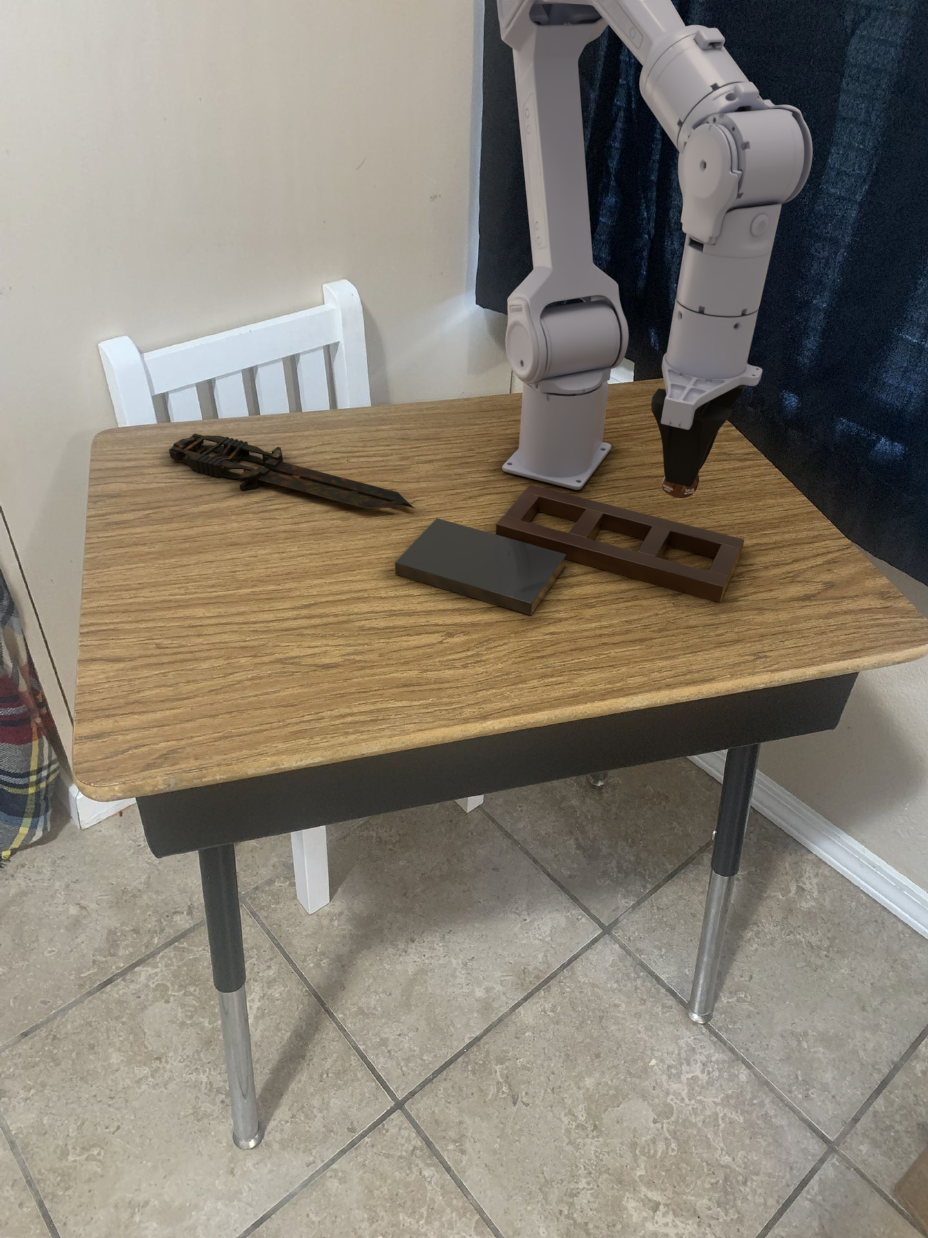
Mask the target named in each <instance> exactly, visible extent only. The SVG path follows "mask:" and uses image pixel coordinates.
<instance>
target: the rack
mask: <svg viewBox="0 0 928 1238" xmlns="http://www.w3.org/2000/svg"><path fill="white" fill-rule="evenodd" d="M538 512H540V513H543V514H547V515H551V516H555V517H559V518H562V519H567V520H570V521H574V522H575V524H574V525H573V526H572V528H571V529H570V531H568V532H567V531H564V530H563V531H562V530H558V529H555V528H553V527H552V528H551V527H547V526H544V525H540V524H537V523H533V522H531V521H532V520H533V519H534V517H535V516H536V514H537V513H538ZM601 529H603V530H607V531H610V532H615V533H620V534H622V535H626V536H630V537H633V538H638V539H642V540H643V541H642V543H641V544H640V546H639V548H638V550H637V551H636V550H632V549H628V548H625V547H621V546H618V545H614V544H610V543H608V542H607V543H606V542H603V541H599V540H595V538H596V537H597V535H598V534H599V532H600V531H601ZM495 534H496V535H499V536H503V537H506V538H510V539H514V540H517V541H521V542H524V543H528V544H531V545H535V546H539V547H542V548H546V549H549V550H553V551H556V552H560V553H564V554H566V561H571V562H575V563H577V564H582V565H585V566H589V567H592V568H595V569H599V570H602V571H606V572H609V573H613V574H616V575H620V576H625V577H627V578H631V579H634V580H639V581H642V582H645V583H649V584H653V585H656V586H660V587H663V588H667V589H670V590H674V591H678V592H681V593H685V594H688V595H691V596H696V597H698V598H702V599H705V600H708V601H709V600H710V601H713V602H717V603H721V601H722V598H723V596H724V594H725V592H726V590H727V587H728V586H729V583H730V580H731V579H732V576H733V574H734V572H735V569H736V567H737V565H738V562H739V560H740V558H741V556H742V552H743V548H744V544H745V539H744V538H739V537H735V536H732V535H728V534H725V533H720V532H717V531H713V530H709V529H705V528H701V527H698V526H693V525H689V524H685V523H681V522H678V521H674V520H670V519H666V518H663V517H658V516H654V515H651V514H647V513H643V512H639V511H635V510H632V509H627V508H623V507H619V506H616V505H612V504H608V503H604V502H601V501H596V500H593V499H589V498H586V497H581V496H577V495H574V494H569V493H565V492H562V491H558V490H554V489H550V488H546V487H542V486H539V485H534V484H528V486H527V487H526V488H525V489H524V490H523V491H522V493H521V494H520V495H519V496H518V497H517V499H516V500H515V501H514V502H513V504H512V505H511V506H510V507H509V508H508V510H507V511H506V512H505V513H504V515H502V517H501V518H500V519H499V520H498V521H497V523H496V524H495ZM667 547H671V548H674V549H678V550H684V551H687V552H690V553H693V554H696V555H701V556H705V557H709V558H711V559H713V561H712V563H711V565H710V567H709V570H706V569H702V568H698V567H696V566H695V567H694V566H691V565H688V564H685V563H684V564H683V563H680V562H676V561H672V560H670V559H665V558H662V556H663V554H664V553H665V551H666V549H667Z"/></svg>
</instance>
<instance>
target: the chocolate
mask: <svg viewBox="0 0 928 1238" xmlns="http://www.w3.org/2000/svg"><path fill="white" fill-rule="evenodd" d="M701 483H702V482H701V481H700V475H699V473H698V475H697V477H696V479H695V481H694V483H693V484H692V486H691V487H687V486H682V485H678V484H674V483H670V482H666V480H665V476H664V477H663V479H662V484H661V488H662V491H663V492H664V493H665V494H667V495H668V496H670V497H673V498H677V499H686V498H690V497H691V496H693V494H695V493H696V492H697V489H698V488H701V487H702V486H701Z"/></svg>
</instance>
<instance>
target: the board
mask: <svg viewBox="0 0 928 1238" xmlns="http://www.w3.org/2000/svg"><path fill="white" fill-rule="evenodd" d="M566 562H567V559H566V554H564V553H560V552H556V551H553V550H549V549H546V548H542V547H539V546H535V545H531V544H528V543H524V542H521V541H517V540H514V539H510V538H506V537H503V536H499V535H496V533H492V532H488V531H486V530H485V531H484V530H481V529H477V528H474V527H470V526H468V525H463V524H461V523H456V522H452V521H450V520H445V519H441V518H438V517H436V518H435V519H434V520H433V521H432V522H431V524H429V526H427V528H426V529H425V530H424V531H422V533H421V534H420V535H419V536H418V537H417V539H415V541H414V542H412V544H411V545H410V546H409V547H408V548H407V549H406V550H405V551H404V552H403V553H402V554H401V555H400V556H399V558H398V559H397V560H396V561H395V562H394V574H395V575H396V576H400V577H403V578H406V579H410V580H414V581H417V582H420V583H423V584H426V585H428V586H429V585H430V586H433V587H436V588H439V589H443V590H447V591H448V592H452V593H456V594H459V595H463V596H465V597H469V598H472V599H475V600H478V601H481V602H485V603H489V604H492V605H495V606H498V607H502V608H504V609H508V610H512V611H515V612H519V613H521V614H525V615H528V616H532V615H533V613H534V612H535V611H536V609H537V608H538V606H539V604H540V603H542V600H543V599H544V597H545V596H546V595H547V593H548V592H549V590H550V589H551V588H552V586H553V584H554V583H555V581H556V580H557V578H558V577H559V576H560V574H561V573H562V572H563V570H564V569H565V566H566Z"/></svg>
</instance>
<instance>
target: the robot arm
mask: <svg viewBox="0 0 928 1238" xmlns="http://www.w3.org/2000/svg"><path fill="white" fill-rule="evenodd" d="M496 7H497V16H498V22H499V31H500V39H501V40H502V42H504V44H506V45H508V46H509V47H510V48H512V58H513V67H514V68H513V69H514V78H515V79H514V80H515V90H516V100H517V109H518V110H517V111H518V120H519V121H518V122H519V130H520V131H519V132H520V141H521V151H522V161H523V162H522V164H523V173H524V181H525V182H524V184H525V194H526V203H527V215H528V224H529V234H530V235H529V236H530V247H531V256H532V266H533V267H532V268H533V269H532V271H531V272H529V274H528V275H527V276H526V277H525V278H524V280H523V281H522V282H521V283H519V285H518V286H516V288H515V289H514V290H513V291H512V292H511V294H510V295H509V296H508V297H507V301H506V302H507V326H506V331H505V338H504V339H505V341H504V345H505V353H506V357H507V361H508V364H509V366H510V368H511V370H512V372H513V373H514V374H515V376H516V377H517V378H518V379H519V380H520V381H521V382H522V397H521V411H520V426H519V438H518V439H519V440H518V448H516V450H515V451H514V453H513V454H512V455H511V456H510V457H509V458H508V459H507V460H506V461H505V462H504V464H502V471H503V472H504V473H508V474H512V475H516V476H521V477H524V478H527V479H532V480H535V481H540V482H543V483H547V484H551V485H554V486H555V485H556V486H558V487H564V488H567V489H571V490H574V491H580V490H581V489H582V488H583V487H584V486H585V485H586V483H587V482H588V481H589V480H590V478H591V477H592V475H593V474H594V473H595V471H596V470H597V468H598V467H599V466H600V464H601V463H602V462H603V461H604V459H605V458H606V456H607V455H608V454H609V453H610V451H611V450H612V445H611V444H610V443H608V442H604V431H605V425H606V424H605V423H606V415H607V408H608V400H609V394H610V393H609V390H610V388H609V381H610V380H611V374H612V373H611V372H612V370H613V369H615V368H617V367H618V366H620V365H621V364H622V363H623V361H624V359H625V356H626V353H627V350H628V346H629V337H630V336H629V335H630V334H629V326H628V322H627V318H626V316H625V313H624V311H623V308H622V304H621V300H620V291H619V284H618V283H617V281H616V280H614V279H613V278H611V277H610V276H609V275H608V274H607V273H606V272H604V271H603V270H602V269H600V268H599V267H598V266H596V265H595V263H594V260H593V247H592V233H591V220H590V206H589V193H588V180H587V167H586V156H585V155H586V153H585V141H584V128H583V127H584V126H583V114H582V113H583V112H582V102H581V101H582V100H581V89H580V88H581V87H580V75H579V59H580V57H581V54H582V53H583V51H584V48H585V47H586V45H588V44H589V43H590V42H593V41H594V40H596V39H598V38H600V37H601V34H602V33H603V32H604V31H605V30H606V28H607V27H608V26H609V27H610V28H611V29H612V30H613V32H614V33H615V34H616V35H617V36H618V38H619V39H620V40H621V42H622V43H623V44H624V45H625V47H627V48H628V50H629V51H630V52H631V54H633V56H634V57H635V59H637V61H638V62H639V63H640V64H641V65H642V68H641V72H640V76H639V84H638V85H639V91H640V94H641V97H642V98H643V100H644V102H645V103H646V105H647V106H648V108H649V109H650V111H651V112H652V113H653V115H654V117H655V118H656V119H657V121H658V123H659V124H660V126H661V127H662V129H663V130H664V131H665V133H666V134H667V136H668V138H669V139H670V140H671V142H672V143H673V145H674V147H675V148H676V149H677V151H678V152H679V153H678V161H677V163H678V164H677V176H678V183H679V187H680V191H681V195H682V211H681V217H680V223H682V224H681V225H682V227H681V229H682V232H683V233H684V234H686V235H685V240H684V248H683V253H682V259H681V264H680V271H679V277H678V284H677V289H676V296H675V300H674V301H675V302H674V307H673V312H672V319H671V323H670V324H671V325H670V331H669V337H668V343H667V348H666V352H665V353H664V354H663V357H662V361H661V371H662V376H663V383H664V388H657V390H656V391H655V392H654V393H653V395H652V397H651V402H650V409H651V413H652V415H653V417H654V419H655V421H656V424H657V426H658V431H659V435H660V439H661V447H662V459H663V460H662V462H663V463H662V464H663V474H664V477H665V480H666V482H670V483H674V484H678V485H682V486H687V487H691V486H692V484H693V483H694V481H695V479H696V477H697V475H698V474H699V473H700V471H701V470H702V468H703V467H704V465H705V463H706V461H707V459H708V457H709V455H710V453H711V450H712V449H713V446H714V443H715V441H716V438H717V437H718V436H717V435H718V433H719V431H720V429H721V428H722V427H723V425H724V424H725V423H726V422H727V420H728V419H729V417H730V416H731V414H732V412H733V408H732V406H733V405H734V403H736V401H737V400H738V399H739V398H740V396H742V394H743V393H744V391H745V389H746V388H747V387H755V386H757V385H759V382H760V381H761V379H762V376H763V368H762V367H759V366H755V365H751V364H749V363H748V359H749V354H750V350H751V347H752V343H753V337H754V332H755V329H756V323H757V318H758V314H759V309H760V308H759V307H760V305H761V301H762V297H763V292H764V288H765V283H766V279H767V274H768V270H769V265H770V261H771V256H772V252H773V248H774V247H773V246H774V242H775V238H776V232H777V229H778V224H779V219H780V215H781V210H782V205H783V204H786V203H788V202H790V201H792V200H793V199H794V198H796V197H797V196H798V195H799V194H800V192H802V190H803V188H804V186H805V185H806V183H807V181H808V178H809V176H810V172H811V168H812V163H813V150H814V149H813V141H812V135H811V132H810V129H809V127H808V125H807V122H806V121H805V120H804V117H803V114H802V112H801V110H800V109H799V108H797V107H795V106H793V105H790V104H778V105H777V104H774V103H773V102H772V101H771V99H763V98H762V97H761V96H760V90H759V89H758V88H757V86H756V85H755V84H754V83H753V82H752V81H749V79H748V78H747V76H746V75H745V74H744V72H743V71H742V69H740V67H739V65H738V64H737V62H736V61H735V60H734V59H733V57H732V56H731V55H730V53H729V51H728V50H727V49H726V47H725V46H724V44H725V42H726V39H725V36H723V34H722V32H721V31H720V30H719V29H718V28H717V27H707V26H704V25H699V24H692V25H685V22H684V21H683V19H682V18H681V16H680V14H679V12H678V11H677V9H676V7H675V5H674V4H673V2H672V0H496ZM574 299H575V300H577V299H580V300H582V302H576V303H571V304H570V303H569V304H564V305H558V306H551V307H547V306H548V305H550V304H552V303H556V302H562V301H568V300H569V301H570V300H574Z"/></svg>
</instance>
